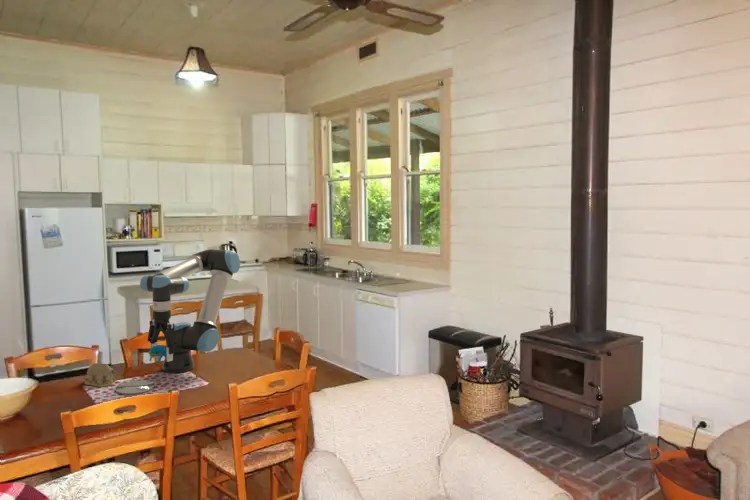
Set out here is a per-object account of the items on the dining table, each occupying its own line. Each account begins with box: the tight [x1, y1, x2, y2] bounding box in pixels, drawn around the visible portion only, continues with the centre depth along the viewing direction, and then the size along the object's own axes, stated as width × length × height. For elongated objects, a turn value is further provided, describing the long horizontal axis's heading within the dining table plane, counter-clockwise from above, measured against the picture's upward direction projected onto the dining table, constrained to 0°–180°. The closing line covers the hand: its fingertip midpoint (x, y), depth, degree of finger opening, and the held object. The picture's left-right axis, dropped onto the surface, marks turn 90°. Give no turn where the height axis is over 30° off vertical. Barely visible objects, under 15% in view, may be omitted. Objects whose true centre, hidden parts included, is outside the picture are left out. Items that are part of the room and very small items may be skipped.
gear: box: [147, 344, 167, 363], centre depth 249 cm, size 11×6×10 cm
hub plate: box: [115, 380, 155, 396], centre depth 251 cm, size 16×16×1 cm
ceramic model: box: [83, 361, 116, 388], centre depth 257 cm, size 14×11×10 cm
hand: (162, 359), depth 251 cm, fingers closed on gear, 9 cm apart
